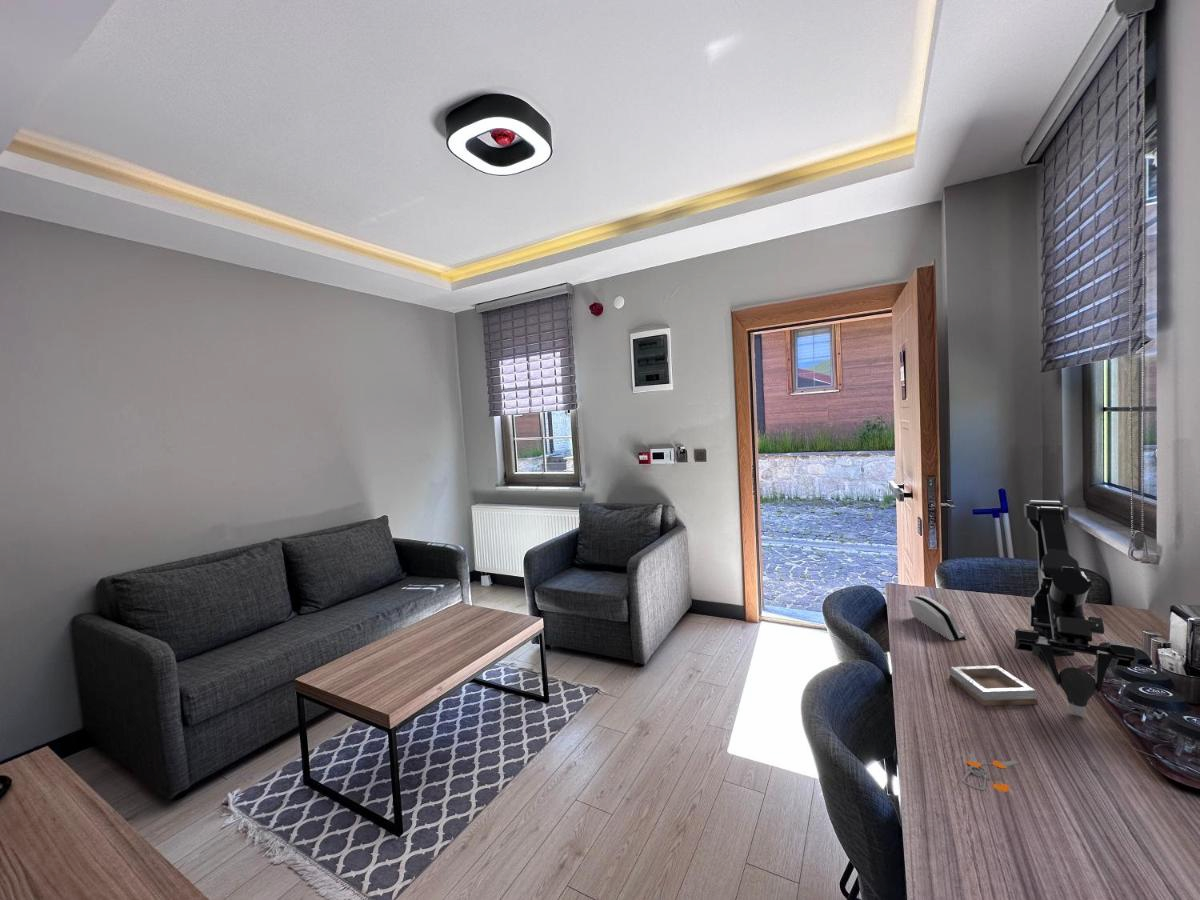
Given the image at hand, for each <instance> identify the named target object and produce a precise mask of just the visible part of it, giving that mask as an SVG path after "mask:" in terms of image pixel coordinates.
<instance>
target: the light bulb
mask: <svg viewBox="0 0 1200 900" xmlns="http://www.w3.org/2000/svg"><path fill="white" fill-rule="evenodd" d="M1058 674H1059V680H1060V685H1059V686H1060V687H1061V689H1062V690H1063V692H1064V693H1065V695H1066V699H1067V702H1068V710H1069V713H1072V714H1073V715H1074V716H1075V717H1077V718H1080V717H1083V716H1085V715H1086V714H1087V713H1086V712H1087V710H1086V707H1087V705H1088V703H1089V702H1088V701H1089V700H1090V699H1091V698H1092V697H1093V696H1094V695H1095V693H1096V692H1097V690H1096V683H1095V678H1093V676H1091V675H1090V674H1089V673H1088V672H1087V671H1085V670H1084V669H1081V668H1078V667H1073V666H1072V667H1071V666H1070V667H1066V668H1065V667H1064V668H1063V669H1062V670H1060V671H1059V672H1058Z"/></svg>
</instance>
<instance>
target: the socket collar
mask: <svg viewBox="0 0 1200 900" xmlns="http://www.w3.org/2000/svg"><path fill="white" fill-rule="evenodd" d="M950 675H951V676H953V677H954V678H955V679H956V680H958V681H959V682H960V683H962V684H963V685H964V686H965V687H967V688H968V689H969V690H971V691H972V692H973V693H974V694H976V695H977V696H978V697H980V698H981V699H982V700H983V701H989V700H1022V699H1035V698H1036V689H1034V688H1032V687H1031V686H1030V685H1028V684H1027V683H1025V682H1024V681H1022V680H1021V679H1019V678H1017V677H1016V676H1015V675H1013V674H1011V673H1010V672H1008V671H1006V670H1005V669H1003V668H1002V667H1001V666H999V665H975V666H974V665H973V666H970V665H967V666H950ZM991 676H996V677H998V678H999V679H1001V680H1002V681H1004V682H1005V683H1007V684H1008V685H1010V686H1011V687H1012V688H990V689H985V688H984V687H982V686H981V685H979V684H978V683H977V682H975V681H974V680H973V679H971V678H970V677H991Z"/></svg>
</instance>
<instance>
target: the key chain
mask: <svg viewBox="0 0 1200 900" xmlns="http://www.w3.org/2000/svg"><path fill="white" fill-rule="evenodd" d="M967 757H968V758H969V759H968V760H966V764H967V765H968V766H969V767H968V771H967V772H966V773H965V775H964V776H963V777H962V778H961V782H962V783H963V784H965V785H967V786H968V787H971V788H974V789H976V790H980V791H984V792H985V791H986V790H987V788H986V784H987V779H988V781H991V778H990V777H988V776H987V775H986V773H987V772H988V771H987V769H986V768H985V767H983V766H985V765H991V766H994V767H996V768H998V767H999V769H1001V768H1002V769H1003V768H1004V769H1003V770H1005V768H1006V769H1007V768H1008V767H1009V766H1011V767H1012V766H1015V765H1019V762H1018V761H1017V760H1015V759H1014V760H1009V761H999V760H994V759H993V761H992V763H991V762H985V763H984V762H983V763H980V762H978V761H977V760H976V756H975V753H973V752H969V755H968V756H967ZM981 768H982V769H981ZM971 774H973V775H974V776H976V777H979V778H984V779H983V787H978V786H975V785H972V784H970V783H968V782H966V779H967V778H968V777H969V776H970V775H971ZM1002 782H1003V781H1001V783H1000V784H998V785H997V783H996V784H994V785H993V787H992V788H993V789H995V790H997V791H999V792H1002V793H1003V792H1005V793H1006V792H1010V791H1011V788H1010V787H1009V785H1008V784H1006V783H1005V784H1002ZM993 783H994V782H993ZM993 783H992V784H993ZM992 784H991V785H992ZM991 785H990V786H991ZM999 785H1001V786H999ZM1007 785H1008V786H1007Z"/></svg>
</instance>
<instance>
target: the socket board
mask: <svg viewBox="0 0 1200 900" xmlns="http://www.w3.org/2000/svg"><path fill="white" fill-rule="evenodd" d="M970 678H971V679H973V680H974V681H975V682H977V683H978V684H979V685H981V686H982V687H984V688H985V689H990V688H1012V687H1011V686H1010V685H1008V684H1007V683H1005V682H1004V681H1002V680H1001V679H999V678H998V677H996V676H991V677H970ZM949 680H951V681H952V682H953V683H954V684H955V685H957V686H958V687H959V688H960V689H962V690H963V691H964V692H966V693H967V694H968V695H969V696H971V697H972V698H973V699H974V700H976V701H977V702H978V703H979V704H980V705H982V706H985V707H987V706H1015V705H1019V706H1020V705H1021V706H1022V705H1037V704H1038V699H1037V698H1036V697H1035V699H1022V700H989V701H983V700H982V699H981V698H980V697H978V696H977V695H976V694H974V693H973V692H972V691H971V690H969V689H968V688H967V687H965V686H964V685H963V684H962V683H960V682H959V681H958V680H956V679H955V678H954V677H953V676H951V674H949Z"/></svg>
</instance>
